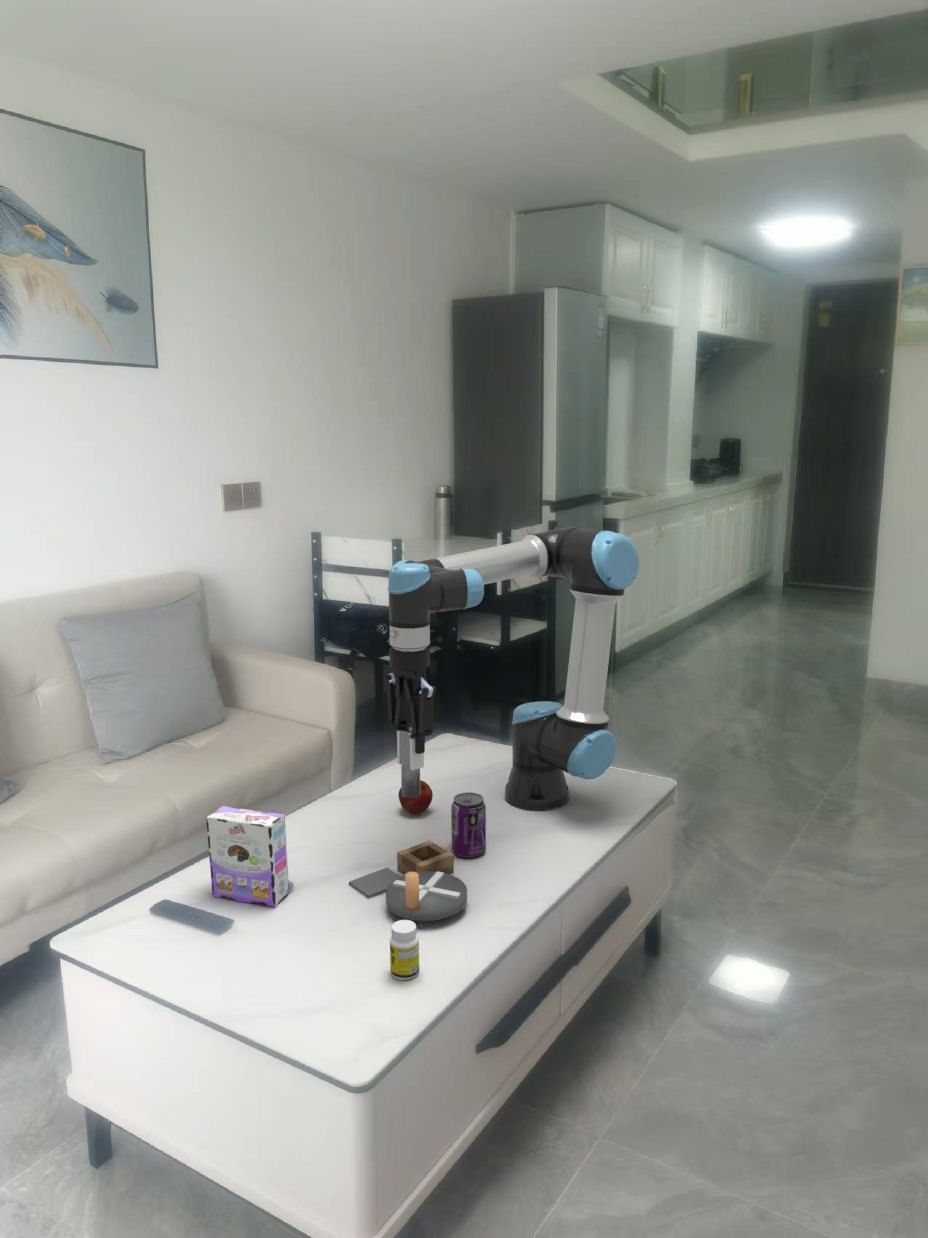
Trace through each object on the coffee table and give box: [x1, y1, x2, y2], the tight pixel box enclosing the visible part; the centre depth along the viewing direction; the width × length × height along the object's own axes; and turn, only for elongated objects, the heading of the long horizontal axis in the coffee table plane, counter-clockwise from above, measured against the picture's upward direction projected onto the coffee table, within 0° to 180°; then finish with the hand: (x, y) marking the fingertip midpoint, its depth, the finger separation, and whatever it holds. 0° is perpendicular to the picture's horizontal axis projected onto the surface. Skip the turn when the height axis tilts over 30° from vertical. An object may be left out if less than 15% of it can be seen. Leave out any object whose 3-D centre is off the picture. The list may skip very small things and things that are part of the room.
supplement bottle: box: [389, 919, 420, 981], centre depth 150 cm, size 5×5×8 cm
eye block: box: [396, 840, 455, 875], centre depth 184 cm, size 8×8×4 cm
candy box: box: [205, 805, 290, 908], centre depth 174 cm, size 14×6×16 cm, turn 71°
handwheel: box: [385, 871, 468, 921], centre depth 170 cm, size 15×15×8 cm
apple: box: [397, 779, 434, 815], centre depth 211 cm, size 7×8×8 cm
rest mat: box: [348, 867, 401, 899], centre depth 179 cm, size 9×7×1 cm
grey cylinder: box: [400, 726, 421, 798], centre depth 178 cm, size 4×4×13 cm
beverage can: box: [450, 791, 487, 859], centre depth 191 cm, size 7×7×12 cm
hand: (410, 764), depth 178 cm, fingers closed on grey cylinder, 3 cm apart
